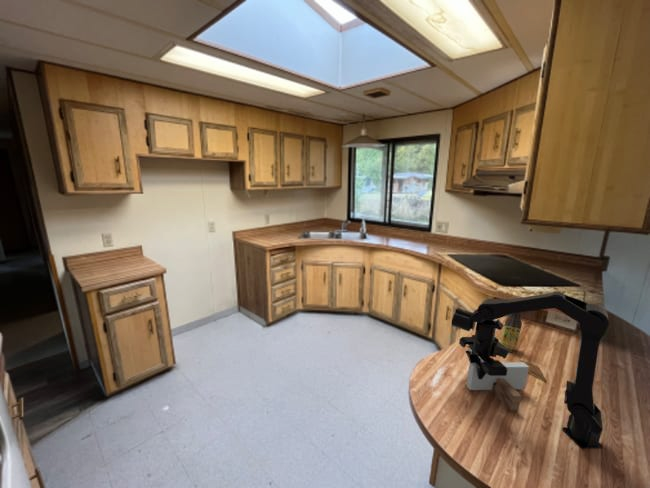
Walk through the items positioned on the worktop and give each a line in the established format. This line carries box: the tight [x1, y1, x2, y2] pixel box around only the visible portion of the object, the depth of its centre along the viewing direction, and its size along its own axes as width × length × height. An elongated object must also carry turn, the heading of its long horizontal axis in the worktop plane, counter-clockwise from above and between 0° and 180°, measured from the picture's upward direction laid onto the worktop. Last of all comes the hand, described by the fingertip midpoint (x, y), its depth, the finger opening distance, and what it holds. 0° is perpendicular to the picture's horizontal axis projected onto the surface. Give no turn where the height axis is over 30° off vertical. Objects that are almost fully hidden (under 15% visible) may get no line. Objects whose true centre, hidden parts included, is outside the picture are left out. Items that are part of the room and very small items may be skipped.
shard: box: [517, 359, 548, 383], centre depth 111 cm, size 11×8×2 cm
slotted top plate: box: [465, 361, 529, 391], centre depth 99 cm, size 20×2×9 cm, turn 93°
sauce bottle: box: [499, 312, 523, 353], centre depth 124 cm, size 7×6×20 cm
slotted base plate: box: [481, 360, 522, 413], centre depth 100 cm, size 20×2×6 cm, turn 3°
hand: (477, 376), depth 99 cm, fingers closed on slotted top plate, 2 cm apart
